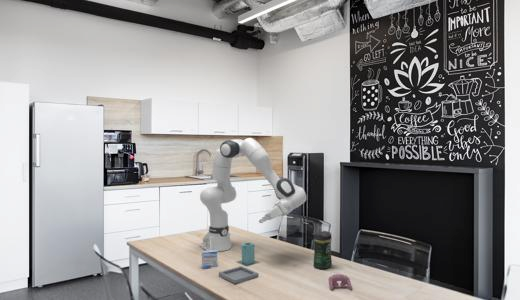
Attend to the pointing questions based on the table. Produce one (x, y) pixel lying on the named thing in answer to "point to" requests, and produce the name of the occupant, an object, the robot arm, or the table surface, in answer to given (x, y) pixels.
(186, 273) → the table surface
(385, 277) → the table surface
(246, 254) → the tabbed sleeve
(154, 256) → the table surface
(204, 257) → the medicine box
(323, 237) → the coffee jar
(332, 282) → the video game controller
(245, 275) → the tray
